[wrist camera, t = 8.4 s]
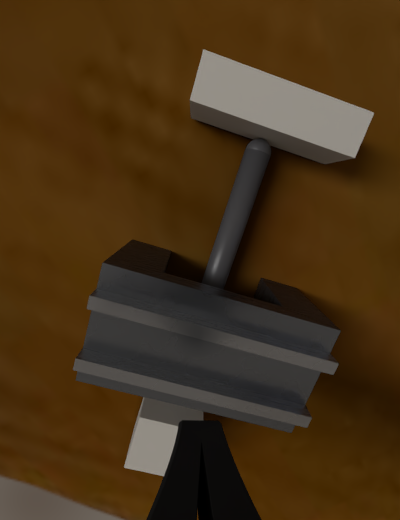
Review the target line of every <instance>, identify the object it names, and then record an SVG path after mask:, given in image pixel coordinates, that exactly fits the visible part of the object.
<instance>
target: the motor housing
mask: <svg viewBox="0 0 400 520" xmlns="http://www.w3.org/2000/svg"><path fill="white" fill-rule="evenodd" d="M170 254H171V251H169V250H166V249H163V248H159V247H156V246H153V245H149V244H146V243H143V242H139V241H136V240H131V241H130V242H128V243H127V244H126V245H125V246H123V247H122V248H121V249H120V250H118V251H117V252H116V253H114V254H113V255H112V256H111V257H109V258H108V259H107V260H105V261H104V262H103V263H102V268H101V272H100V276H99V281H98V285H97V289H96V290H95V291H94V292H93V293H92V294H91V295H90V296H89V301H88V305H87V309H89V310H92V311H91V316H90V320H89V324H88V329H87V333H86V337H85V342H84V346H83V349H82V350H81V352H80V353H79V354H78V356H77V357H76V359H75V363H74V368H73V370H74V371H78V372H77V377H76V380H77V381H81V382H85V383H89V384H93V385H97V386H101V387H105V388H109V389H113V390H118V391H122V392H126V393H130V394H134V395H138V396H142V397H146V398H150V399H155V400H159V401H163V402H167V403H171V404H175V405H179V406H183V407H187V408H192V409H196V410H200V411H204V412H208V413H212V414H216V415H220V416H224V417H229V418H233V419H237V420H241V421H245V422H249V423H253V424H257V425H261V426H266V427H270V428H274V429H278V430H282V431H286V432H290V433H292V431H293V429H294V426H295V425H297V426H301V427H306V428H307V427H308V425H309V423H310V421H311V419H312V417H311V415H310V413H309V411H308V409H307V407H306V405H305V404H306V402H307V400H308V398H309V396H310V394H311V391H312V389H313V387H314V385H315V383H316V381H317V379H318V377H319V375H320V373H321V372H324V373H328V374H331V375H334V373H335V371H336V369H337V367H338V365H339V363H338V362H337V361H336V359H335V358H334V357H333V356H332V355H331V353H330V352H331V350H332V348H333V346H334V344H335V342H336V340H337V338H338V336H339V334H340V332H341V330H340V329H339V328H338V327H337V326H335V325H334V324H333V323H332V322H331V321H330V320H329V319H328V318H327V317H326V316H325V315H324V314H323V313H322V312H321V311H320V310H319V309H318V308H317V307H316V306H315V305H314V304H313V303H312V302H311V301H309V300H308V299H307V298H306V297H305V296H304V295H303V294H302V293H301V292H300V291H299V290H298V289H297V288H294V287H291V286H287V285H284V284H281V283H277V282H274V281H271V280H267V279H264V278H261V279H260V282H259V284H258V287H257V290H256V292H255V295H254V297H253V298H251V297H247V296H244V295H240V294H237V293H233V292H230V291H226V290H223V289H219V288H216V287H212V286H209V285H206V284H202V283H199V282H195V281H192V280H188V279H185V278H181V277H178V276H174V275H171V274H167V273H165V271H166V268H167V265H168V261H169V258H170Z"/></svg>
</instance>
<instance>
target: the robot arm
mask: <svg viewBox="0 0 400 520" xmlns="http://www.w3.org/2000/svg"><path fill="white" fill-rule="evenodd" d="M197 509H198V518H199V520H261V518H260V516H259V514H258V512H257V510H256V508H255V506H254V504H253V502H252V500H251V498H250V496H249V494H248V491H247V489H246V487H245V485H244V483H243V480H242V478H241V476H240V474H239V472H238V469H237V467H236V464H235V462H234V460H233V457H232V454H231V452H230V449H229V447H228V444H227V441H226V438H225V435H224V432H223V428H222V425H221V423H220V422H219V421H203V420H182V421H180V422H179V424H178V431H177V436H176V440H175V444H174V447H173V451H172V454H171V457H170V461H169V463H168V466H167V469H166V472H165V475H164V477H163V480H162V483H161V486H160V488H159V491H158V493H157V496H156V498H155V501H154V503H153V505H152V508H151V510H150V512H149V515H148V517H147V520H197Z"/></svg>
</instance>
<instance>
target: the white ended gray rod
mask: <svg viewBox="0 0 400 520" xmlns="http://www.w3.org/2000/svg"><path fill="white" fill-rule="evenodd" d="M190 111H191V118H192V119H195V120H198V121H201V122H204V123H207V124H210V125H212V126H215V127H218V128H221V129H224V130H227V131H230V132H233V133H236V134H239V135H241V136H244V137H247V138H250V139H253V140H252V141H251V142H250V143H249V144H248V145H247V147H246V149H245V152H244V155H243V158H242V161H241V164H240V167H239V170H238V173H237V176H236V179H235V182H234V185H233V188H232V192H231V195H230V198H229V201H228V204H227V207H226V210H225V213H224V216H223V219H222V222H221V225H220V228H219V231H218V234H217V237H216V240H215V243H214V246H213V249H212V252H211V255H210V258H209V261H208V264H207V267H206V271H205V274H204V277H203V280H202V284H206V285H209V286H212V287H216V288H219V289H223V290H224V287H225V284H226V281H227V278H228V275H229V273H230V270H231V267H232V264H233V261H234V258H235V256H236V253H237V250H238V247H239V244H240V241H241V239H242V236H243V233H244V230H245V227H246V224H247V222H248V219H249V216H250V213H251V210H252V207H253V205H254V202H255V199H256V196H257V193H258V190H259V187H260V185H261V182H262V179H263V176H264V173H265V170H266V168H267V165H268V162H269V159H270V156H271V147H270V146H273V147H276V148H279V149H282V150H285V151H288V152H291V153H293V154H296V155H299V156H302V157H305V158H308V159H311V160H314V161H317V162H320V163H322V164H329V163H334V162H339V161H344V160H348V159H353V158H355V157H356V154H357V152H358V150H359V147H360V145H361V143H362V140H363V138H364V136H365V133H366V131H367V129H368V126H369V124H370V122H371V119H372V117H373V115H374V113H373V112H371V111H368V110H365V109H363V108H360V107H357V106H355V105H352V104H349V103H346V102H344V101H341V100H338V99H336V98H333V97H330V96H328V95H325V94H322V93H320V92H317V91H314V90H312V89H309V88H306V87H303V86H301V85H298V84H295V83H293V82H290V81H287V80H285V79H282V78H279V77H277V76H274V75H271V74H268V73H266V72H263V71H260V70H258V69H255V68H252V67H250V66H247V65H244V64H242V63H239V62H236V61H233V60H231V59H228V58H225V57H223V56H220V55H217V54H215V53H212V52H209V51H207V50H203V53H202V57H201V61H200V64H199V68H198V72H197V76H196V79H195V83H194V87H193V90H192V94H191V98H190ZM182 420H203V411H200V410H196V409H192V408H187V407H183V406H179V405H175V404H171V403H167V402H163V401H159V400H155V399H150V398H146V397H143V400H142V404H141V407H140V410H139V414H138V417H137V420H136V423H135V427H134V430H133V434H132V438H131V442H130V446H129V450H128V454H127V458H126V462H125V465H124V468H128V469H133V470H138V471H142V472H147V473H151V474H156V475H161V476H164V475H165V472H166V469H167V466H168V463H169V461H170V457H171V454H172V451H173V447H174V444H175V440H176V436H177V431H178V424H179V422H180V421H182Z"/></svg>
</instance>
